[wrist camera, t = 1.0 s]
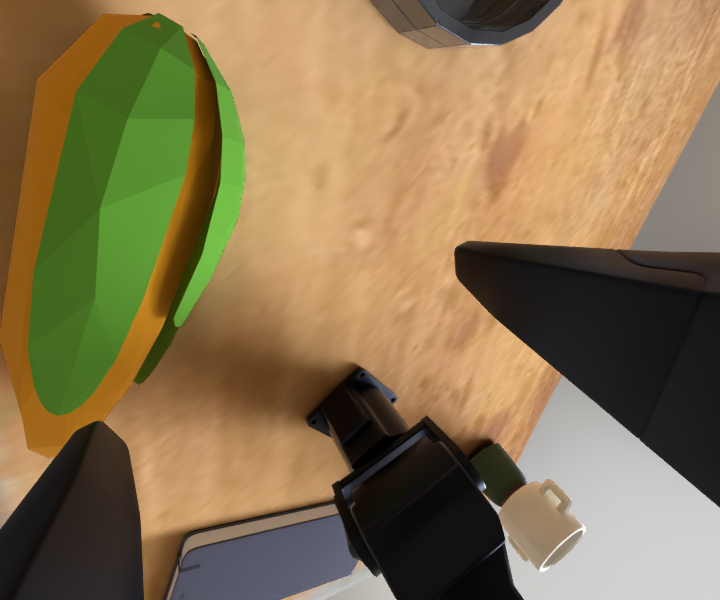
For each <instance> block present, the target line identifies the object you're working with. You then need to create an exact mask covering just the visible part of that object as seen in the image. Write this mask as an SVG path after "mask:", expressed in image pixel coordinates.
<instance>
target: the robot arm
mask: <svg viewBox="0 0 720 600" xmlns="http://www.w3.org/2000/svg"><path fill="white" fill-rule="evenodd" d="M454 256H455V272H456V276H457V278H458V280H459V281H460V282H461V283H462V284H463V285H464V286H465V288H466V289H467V290H468V291H469V292H470V293H471V294H472V295H473V296H474V297H475V298H476V299H477V300H478V301H479V302H480V303H481V304H482V305H483V306H484V307H485V308H486V309H487V310H488V312H490V313H491V314H492V315H493V316H494V317H495V318H496V319H497V320H498V321H499V322H500V323H501V324H503V325H504V326H505V327H506V328H507V329H509V330H510V331H511V332H512V333H513V334H515V335H516V336H517V337H518V338H519V339H520V340H522V341H523V342H524V343H525V344H526V345H528V346H529V347H530V348H531V349H532V350H534V351H535V352H536V353H537V354H538V355H539V356H541V357H542V358H543V359H544V360H545V361H547V362H548V363H549V364H550V365H551V366H553V367H554V368H555V369H556V370H557V371H559V372H560V373H561V374H562V375H563V376H565V377H566V378H567V379H568V380H569V381H571V382H572V383H573V384H574V385H575V386H576V387H578V388H579V389H580V390H581V391H583V393H585V394H586V395H587V396H588V397H589V398H591V399H592V400H593V401H594V402H595V403H597V404H598V405H599V406H600V407H601V408H603V409H604V410H605V411H606V412H607V413H609V414H610V415H611V416H612V417H613V418H614V419H616V420H617V421H618V422H619V423H621V424H622V425H623V426H624V427H625V428H626V429H627V430H629V431H630V432H631V433H632V434H633V435H635V436H636V437H637V438H640V441H641V442H643V443H644V444H645V445H646V446H647V447H649V448H650V449H651V450H652V451H653V452H654V453H656V454H657V455H658V456H659V457H661V458H662V459H663V460H664V461H665V462H666V463H668V464H669V465H670V466H671V467H672V468H673V469H675V470H676V471H677V472H678V473H679V474H681V475H682V476H683V477H684V478H685V479H687V480H688V481H689V482H691V484H693V485H694V486H695V487H696V488H697V489H698V490H700V491H701V492H702V493H703V494H704V495H706V496H707V497H708V498H709V499H710V500H711V501H713V502H714V503H715V504H716V505H717V506H719V507H720V253H711V252H660V251H639V250H621V249H617V250H616V251H615V250H614V249H602V248H585V247H568V246H550V245H533V244H516V243H498V242H481V241H467V242H465V243H463V244H461V245H459V246H457V247H456V248H455V251H454ZM396 401H397V396H396V395H395V394H394V393H393V392H392V391H391V390H390V389H388V388H387V387H386V386H385V385H384V384H382V383H381V382H380V381H379V380H377V379H376V378H375V377H374V376H373V375H371V374H370V373H369V372H368V371H367V370H365V369H364V368H358V369H357V370H356V371H355V372H354V373H352V374H351V375H350V376H349V377H348V378H347V379H346V380H345V381H344V382H343V383H342V384H341V385H340V386H339V387H338V388H337V389H336V390H335V391H334V392H333V393H332V394H331V395H330V396H329V397H328V398H327V399H326V400H325V401H324V402H323V403H322V404H321V405H319V406H318V407H317V408H316V409H315V410H314V411H313V412H312V413H311V414H310V415H309V416H308V417H307V419H306V421H307V424H308V425H309V426H310V427H312V428H314V429H316V430H318V431H320V432H321V433H323V434H325V435H327V436H329V437H331V438H332V439H333V441H334V443H335V444H336V446H337V448H338V450H339V452H340V454H341V456H342V458H343V460H344V462H345V463H346V465H347V467H348V469H349V471H350V474H348V475H347V476H346V477H344V478H343V479H341V480H340V481H337V482H335V483H334V484H333V485H332V487H333V490H334V493H335V496H334V500H333V501H334V503H335V506H336V508H337V510H338V512H339V514H340V517H341V519H342V522H343V526H344V531H345V535H346V540H347V544H348V549H349V552H350V554H351V556H352V557H353V559H356V560H360V561H362V562H363V563H364V564H365V566H366V567H368V569H369V570H370V571H371V573H372V574H373V575H374V576H376V577H377V576H378V575H379V574H381V573H382V574H383V576H384V578H385V580H386V582H387V584H388V585H389V587H390V589H391V591H392V593H393V594H394V596H395V598H396V599H397V600H524V599H523V598H522V596H521V595H520V594H519V592H518V591H517V589H516V588H515V586H514V583H513V579H512V574H511V569H510V565H509V560H508V555H507V551H506V546H505V536H504V532H503V529H502V525H501V521H500V519H499V516H498V514H497V513H496V511H495V510H494V508H493V507H492V506H491V504H490V503H489V502H488V500H487V499H486V498H485V496H484V495H483V494H482V491H483V490H485V489H486V486H485V484H484V482H483V480H482V478H481V476H480V475H479V473H478V472H477V470H476V469H475V467H474V466H473V464H472V463H471V462H470V460H469V459H468V458H467V457H466V455H465V454H464V453H463V452H462V451H461V449H460V448H459V447H458V446H457V445H456V444H455V443H454V442H453V441H452V440H451V439H450V438H449V437H448V436H447V435H446V434H445V433H444V432H443V431H442V430H441V429H440V428H439V427H438V426H437V425H436V424H435V423H434V422H433V421H432V420H431V419H430V418H429V417H428V416H427V415H426V416H425V417H424V418H422V419H421V421H420V422H419V423H417V424H416V425H415V426H413V427H412V428H410V427H409V426H408V424H407V423H406V422H405V420H404V419H403V418H402V416H401V415H400V414H399V413H398V411H397V410H396V409H395V407H394V406H393V404H394V403H395V402H396ZM0 600H144V585H143V562H142V539H141V521H140V512H139V505H138V500H137V494H136V488H135V483H134V477H133V471H132V466H131V460H130V454H129V450H128V447H127V445H126V443H125V442H124V441H123V440H122V439H121V438H120V437H119V436H118V435H117V434H116V433H115V432H114V431H113V430H112V429H110V428H109V427H108V426H107V425H106V424H105V423H104V422H102V421H94V422H92V423H90V424H88V425H86V426H84V427H82V428H80V429H78V430H76V431H75V432H74V433H73V435H72V436H71V437H70V439H69V440H68V441H67V443H66V444H65V445H64V446H63V448H62V449H61V450H60V452H59V453H58V454H57V456H56V457H55V458H54V460H53V461H52V462H51V464H50V465H49V466H48V467H47V469H46V470H45V471H44V473H43V474H42V475H41V477H40V478H39V479H38V481H37V482H36V483H35V485H34V486H33V487H32V488H31V490H30V491H29V492H28V494H27V495H26V496H25V498H24V499H23V500H22V502H21V503H20V504H19V505H18V507H17V508H16V509H15V511H14V512H13V513H12V515H11V516H10V517H9V519H8V520H7V521H6V523H5V524H4V525H3V526H2V528H1V529H0Z"/></svg>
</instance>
